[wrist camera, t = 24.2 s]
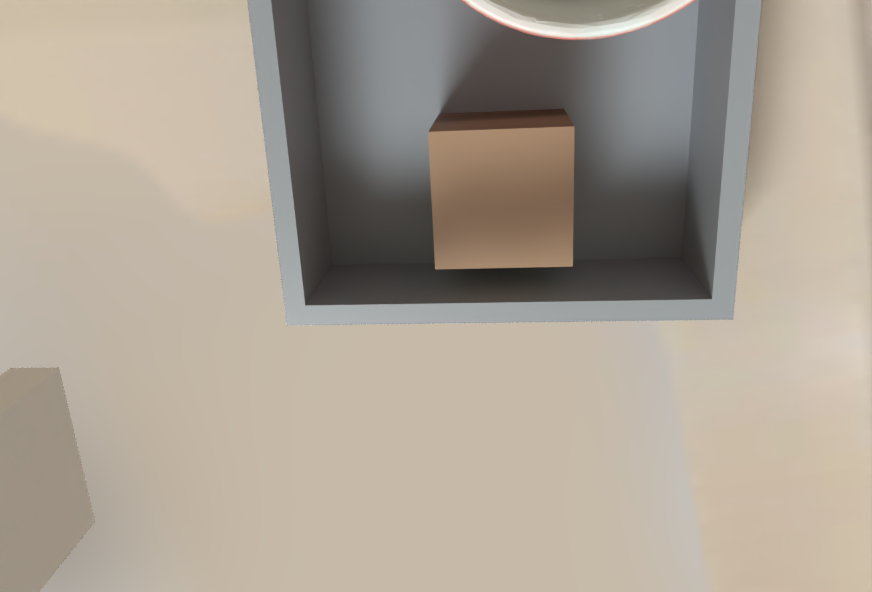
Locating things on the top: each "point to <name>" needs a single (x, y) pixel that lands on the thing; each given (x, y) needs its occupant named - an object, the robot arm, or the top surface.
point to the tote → (503, 91)
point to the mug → (577, 16)
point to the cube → (502, 189)
